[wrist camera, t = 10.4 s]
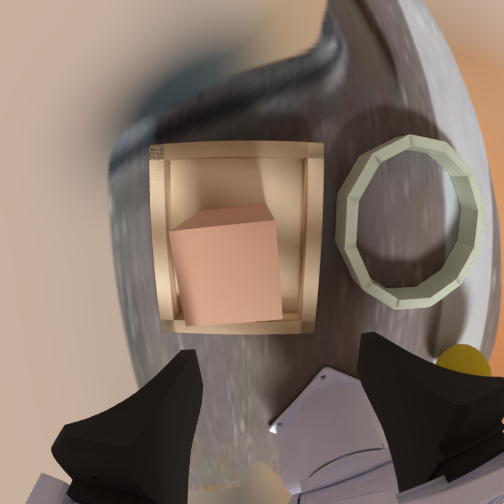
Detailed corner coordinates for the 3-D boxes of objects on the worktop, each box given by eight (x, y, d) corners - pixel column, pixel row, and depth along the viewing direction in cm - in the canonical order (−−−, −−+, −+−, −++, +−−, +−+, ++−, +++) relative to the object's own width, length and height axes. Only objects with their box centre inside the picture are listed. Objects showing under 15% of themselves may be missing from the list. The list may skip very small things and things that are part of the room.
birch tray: (308, 317, 23) (313, 333, 20) (170, 316, 23) (162, 331, 20) (315, 146, 19) (323, 142, 17) (161, 148, 19) (149, 145, 17)
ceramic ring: (416, 318, 23) (429, 331, 20) (303, 249, 21) (309, 258, 19) (483, 200, 20) (500, 204, 18) (385, 107, 19) (400, 101, 16)
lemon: (462, 322, 23) (508, 361, 15) (461, 360, 24) (499, 401, 17) (419, 346, 24) (461, 395, 16) (422, 383, 25) (455, 431, 17)
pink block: (271, 266, 21) (282, 319, 13) (209, 272, 21) (185, 326, 13) (266, 203, 20) (275, 220, 12) (201, 210, 20) (168, 231, 12)
